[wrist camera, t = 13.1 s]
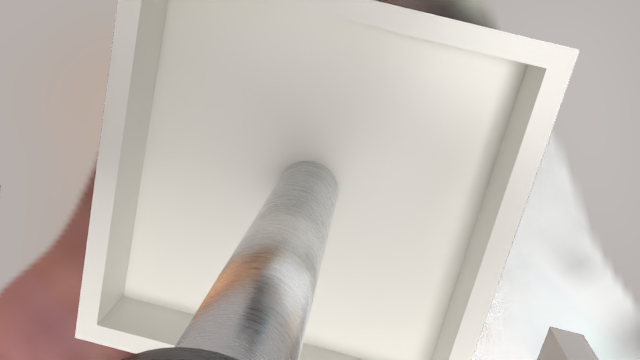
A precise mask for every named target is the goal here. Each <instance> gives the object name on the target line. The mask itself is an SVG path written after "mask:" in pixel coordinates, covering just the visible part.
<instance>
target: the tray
mask: <svg viewBox="0 0 640 360" xmlns="http://www.w3.org/2000/svg"><path fill="white" fill-rule="evenodd" d="M579 51H580V50H579V49H575V48H571V47H566V46H562V45H558V44H554V43H550V42H545V41H541V40H537V39H533V38H529V37H524V36H521V35H517V34H512V33H508V32H504V31H500V30H496V29H492V28H487V27H483V26H479V25H475V24H471V23H467V22H462V21H458V20H454V19H450V18H446V17H442V16H437V15H433V14H429V13H425V12H421V11H417V10H412V9H408V8H404V7H400V6H396V5H392V4H387V3H383V2H379V1H375V0H118V3H117V10H116V18H115V27H114V34H113V42H112V50H111V58H110V66H109V74H108V81H107V89H106V97H105V105H104V113H103V121H102V129H101V136H100V144H99V152H98V160H97V168H96V176H95V184H94V192H93V199H92V207H91V215H90V223H89V231H88V239H87V247H86V255H85V262H84V270H83V278H82V286H81V294H80V302H79V310H78V317H77V325H76V333H75V338H78V339H82V340H86V341H90V342H94V343H97V344H101V345H105V346H109V347H112V348H116V349H120V350H124V351H128V352H131V353H135V354H137V353H140V352H144V351H147V350H153V349H159V348H169V347H175V345H176V343H177V342H178V340H179V339H180V337H181V335H182V334H183V332H184V331H185V329H186V327H187V326H188V324H189V323H190V321H191V319H192V318H193V316H194V315H195V313H196V311H197V310H198V308H199V307H200V305H201V304H202V302H203V300H204V299H205V297H206V296H207V294H208V292H209V291H210V289H211V288H212V286H213V284H214V283H215V281H216V280H217V278H218V276H219V275H220V273H221V272H222V270H223V268H224V267H225V265H226V264H227V262H228V260H229V259H230V257H231V256H232V254H233V252H234V251H235V249H236V248H237V246H238V244H239V243H240V241H241V240H242V238H243V236H244V235H245V233H246V232H247V230H248V228H249V227H250V225H251V224H252V222H253V220H254V219H255V217H256V216H257V214H258V212H259V211H260V209H261V208H262V206H263V204H264V203H265V201H266V200H267V198H268V197H269V195H270V193H271V192H272V190H273V189H274V187H275V185H276V184H277V182H278V181H279V179H280V177H281V176H282V174H283V173H284V171H285V170H286V169H287V168H288V167H289V166H291V165H292V164H294V163H297V162H300V161H315V162H318V163H320V164H323V165H324V166H326V167H327V168H328V169H329V170H330V171H331V172H332V173H333V175H334V176H335V178H336V180H337V183H338V198H337V202H336V206H335V211H334V215H333V219H332V223H331V227H330V232H329V236H328V240H327V244H326V248H325V253H324V257H323V261H322V265H321V269H320V274H319V278H318V282H317V286H316V290H315V295H314V299H313V303H312V307H311V311H310V316H309V320H308V324H307V328H306V332H305V337H304V341H303V345H302V349H301V353H300V358H299V360H472V358H473V355H474V352H475V349H476V346H477V343H478V340H479V337H480V335H481V332H482V329H483V326H484V323H485V320H486V317H487V315H488V312H489V309H490V306H491V303H492V300H493V297H494V295H495V292H496V289H497V286H498V283H499V280H500V277H501V274H502V272H503V269H504V266H505V263H506V260H507V257H508V254H509V252H510V249H511V246H512V243H513V240H514V237H515V234H516V232H517V229H518V226H519V223H520V220H521V217H522V214H523V211H524V209H525V206H526V203H527V200H528V197H529V194H530V191H531V189H532V186H533V183H534V180H535V177H536V174H537V171H538V169H539V166H540V163H541V160H542V157H543V154H544V151H545V148H546V146H547V143H548V140H549V137H550V134H551V131H552V128H553V126H554V123H555V120H556V117H557V114H558V111H559V108H560V105H561V103H562V100H563V97H564V94H565V91H566V88H567V85H568V83H569V80H570V77H571V74H572V71H573V68H574V65H575V63H576V60H577V57H578V54H579Z"/></svg>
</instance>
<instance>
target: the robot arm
mask: <svg viewBox="0 0 640 360" xmlns="http://www.w3.org/2000/svg"><path fill="white" fill-rule="evenodd" d="M0 187H1V186H0ZM537 360H598V358H597V356H596V355H595V353H594V352H593V350H592V348H591V347H590V345H589V344H588V342H587V340H586V339H585V337H584V336H583V335H581V334H577V333H573V332H569V331H565V330H561V329H558V328H554V327H550V328H549V330H548V333H547V336H546V338H545V341H544V343H543V346H542V348H541V351H540V354H539V356H538V359H537Z"/></svg>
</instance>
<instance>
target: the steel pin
mask: <svg viewBox="0 0 640 360" xmlns="http://www.w3.org/2000/svg"><path fill="white" fill-rule="evenodd" d="M337 198H338V183H337V180H336V178H335V176H334V175H333V173H332V172H331V171H330V170H329V169H328V168H327V167H326V166H324V165H323V164H320V163H318V162H315V161H300V162H297V163H294V164H292V165H291V166H289V167H288V168H287V169H286V170H285V171H284V173H283V174H282V176H281V177H280V179H279V181H278V182H277V184H276V185H275V187H274V189H273V190H272V192H271V193H270V195H269V197H268V198H267V200H266V201H265V203H264V204H263V206H262V208H261V209H260V211H259V212H258V214H257V216H256V217H255V219H254V220H253V222H252V224H251V225H250V227H249V228H248V230H247V232H246V233H245V235H244V236H243V238H242V240H241V241H240V243H239V244H238V246H237V248H236V249H235V251H234V252H233V254H232V256H231V257H230V259H229V260H228V262H227V264H226V265H225V267H224V268H223V270H222V272H221V273H220V275H219V276H218V278H217V280H216V281H215V283H214V284H213V286H212V288H211V289H210V291H209V292H208V294H207V296H206V297H205V299H204V300H203V302H202V304H201V305H200V307H199V308H198V310H197V311H196V313H195V315H194V316H193V318H192V319H191V321H190V323H189V324H188V326H187V327H186V329H185V331H184V332H183V334H182V335H181V337H180V339H179V340H178V342H177V343H176V345H175V347H169V348H159V349H153V350H147V351H144V352H140V353H137V354H134V355H131V356H129V357H127V358H124V359H122V360H299V358H300V353H301V349H302V345H303V341H304V337H305V332H306V328H307V324H308V320H309V316H310V311H311V307H312V303H313V299H314V295H315V290H316V286H317V282H318V278H319V274H320V269H321V265H322V261H323V257H324V253H325V248H326V244H327V240H328V236H329V232H330V227H331V223H332V219H333V215H334V211H335V206H336V202H337Z"/></svg>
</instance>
